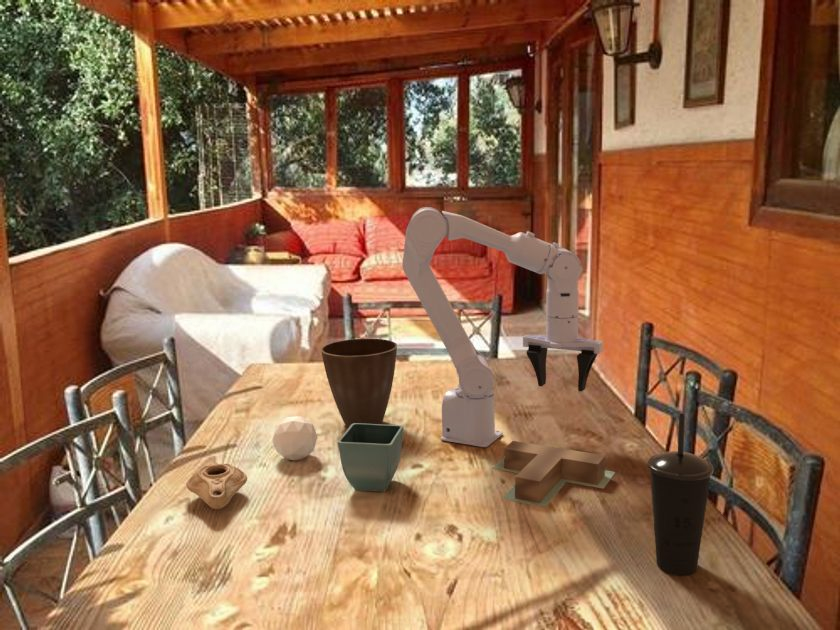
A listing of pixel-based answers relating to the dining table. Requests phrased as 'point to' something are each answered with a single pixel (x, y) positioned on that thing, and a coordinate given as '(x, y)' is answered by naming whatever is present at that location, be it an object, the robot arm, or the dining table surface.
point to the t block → (549, 468)
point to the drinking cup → (679, 506)
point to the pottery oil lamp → (216, 483)
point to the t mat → (511, 493)
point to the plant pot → (360, 377)
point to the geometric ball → (294, 438)
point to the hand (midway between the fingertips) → (561, 387)
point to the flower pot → (370, 455)
